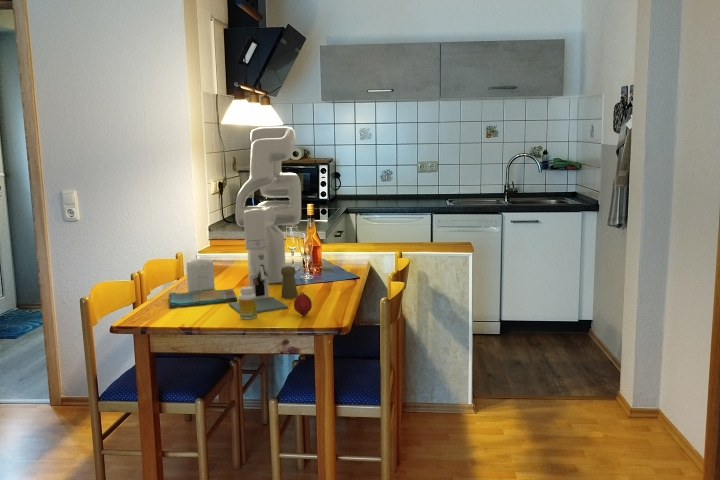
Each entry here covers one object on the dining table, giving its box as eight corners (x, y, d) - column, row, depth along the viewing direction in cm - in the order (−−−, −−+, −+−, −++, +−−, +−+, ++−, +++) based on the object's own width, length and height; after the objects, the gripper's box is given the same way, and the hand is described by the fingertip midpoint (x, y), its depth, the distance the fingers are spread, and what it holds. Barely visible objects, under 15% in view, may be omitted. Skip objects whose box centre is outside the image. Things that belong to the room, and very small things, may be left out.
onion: (294, 313, 220) (293, 289, 219) (312, 312, 220) (311, 288, 219) (294, 318, 214) (292, 294, 213) (312, 317, 215) (311, 293, 213)
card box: (267, 296, 244) (265, 271, 243) (269, 297, 242) (267, 273, 241) (249, 298, 241) (248, 274, 240) (251, 300, 239) (249, 275, 238)
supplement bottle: (256, 319, 215) (254, 289, 213) (239, 320, 215) (237, 290, 213) (257, 314, 220) (255, 285, 219) (240, 315, 220) (238, 286, 218)
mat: (273, 298, 240) (273, 296, 240) (287, 308, 227) (287, 306, 227) (229, 305, 233) (228, 303, 233) (241, 315, 220) (241, 313, 220)
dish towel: (168, 298, 248) (167, 291, 247) (233, 292, 254) (232, 285, 254) (169, 310, 232) (168, 303, 231) (238, 303, 238) (237, 296, 237)
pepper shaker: (300, 295, 244) (299, 265, 242) (293, 299, 239) (292, 268, 237) (285, 294, 246) (284, 264, 244) (278, 298, 241) (276, 268, 239)
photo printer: (212, 287, 261) (210, 255, 259) (216, 289, 258) (214, 257, 255) (186, 291, 256) (184, 259, 253) (190, 293, 252) (187, 261, 250)
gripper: (273, 246, 233) (276, 298, 236) (259, 239, 247) (262, 289, 250) (252, 248, 230) (255, 301, 233) (239, 242, 244) (242, 291, 247)
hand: (259, 294), depth 241 cm, fingers closed on card box, 2 cm apart
